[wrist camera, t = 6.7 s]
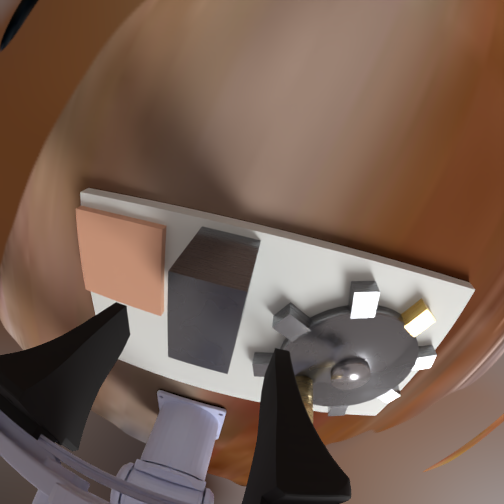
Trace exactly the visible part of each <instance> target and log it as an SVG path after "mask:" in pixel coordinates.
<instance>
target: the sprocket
mask: <svg viewBox="0 0 504 504" xmlns="http://www.w3.org/2000/svg"><path fill="white" fill-rule="evenodd" d="M379 294H380V291H379V288H378V286H377V283H376V281H351V287H350V295H349V302H348V305H346V306H340V307H336V308H333V309H329V310H326V311H324V312H321V313H318V314H316V315H314V316H312V317H309V316H307V315H306V314H305V313H303V312H302V311H301V310H300V309H298V308H297V307H296V306H295V305H293V304H292V303H291V302H290V303H289V304H287V305H286V306H285V307H284V308H282V309H281V310H280V311H278V312H277V313H276V314H275V315H273V323H272V328H273V329H275V330H276V331H278V332H279V333H280V334H282V335H283V336H285V337H286V338H285V340H284V341H283V343H282V345H281V347H280V349H283V350H287V351H289V352H290V356H291V361H292V366H293V370H294V374H295V378H296V382H297V385H298V388H299V391H300V394H301V397H302V400H303V403H304V405H305V408H306V410H307V413H308V415H309V417H310V420H311V422H312V424H313V404H314V405H319V406H327V407H328V416H340V415H345V413H346V410H347V407H348V406H350V405H356V404H360V403H364V402H367V401H370V400H373V399H375V398H378V399H380V400H381V401H383V402H384V403H386V404H387V403H389V402H391V401H393V400H394V399H396V398H398V397H400V396H401V394H400V390H399V386H398V385H399V384H400V383H401V382H402V381H403V380H404V379H405V378H406V377H407V376H408V375H409V373H410V372H411V371H414V370H421V369H427V368H431V366H432V364H433V362H434V360H435V358H436V356H437V354H436V352H435V349H434V347H433V345H427V346H418V341H417V339H416V336H417V335H418V334H419V333H421V332H422V331H423V330H425V329H426V328H427V327H429V326H430V325H431V324H433V323H434V322H435V321H436V320H435V318H434V316H433V314H432V312H431V310H430V309H429V307H428V306H427V305H426V303H425V302H424V301H423V299H422V298H421V299H420V300H419V301H418V302H416V303H415V304H414V305H413V306H411V307H410V308H409V309H407V310H406V311H405V312H403V313H402V314H400V313H398V312H396V311H395V310H392V309H390V308H387V307H383V306H380V305H377V304H378V299H379ZM272 355H273V353H265V352H254V357H253V362H252V366H253V373H254V376H255V377H264V376H265V372H266V370H267V367H268V365H269V362H270V360H271V358H272Z"/></svg>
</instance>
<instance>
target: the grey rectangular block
mask: <svg viewBox="0 0 504 504" xmlns="http://www.w3.org/2000/svg"><path fill="white" fill-rule="evenodd" d="M260 243H261V240H257V239H253V238H249V237H245V236H241V235H237V234H232V233H228V232H224V231H220V230H216V229H211V228H207V227H203V226H202V227H201V228H200V230H199V231H198V232H197V234H196V235H195V236H194V237H193V239H192V240H191V241H190V243H189V244H188V245H187V247H186V248H185V249H184V251H183V252H182V253H181V255H180V256H179V257H178V259H177V260H176V261H175V263H174V264H173V265H172V267H171V268H170V269H169V271H168V304H167V328H168V357H170V358H173V359H176V360H179V361H182V362H186V363H189V364H192V365H196V366H199V367H202V368H206V369H210V370H213V371H217V372H221V373H225V374H228V371H229V367H230V363H231V359H232V356H233V352H234V348H235V344H236V340H237V337H238V333H239V329H240V325H241V321H242V317H243V313H244V309H245V305H246V301H247V297H248V293H249V288H250V284H251V280H252V276H253V272H254V268H255V264H256V259H257V255H258V251H259V247H260Z"/></svg>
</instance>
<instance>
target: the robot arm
mask: <svg viewBox="0 0 504 504" xmlns="http://www.w3.org/2000/svg"><path fill="white" fill-rule="evenodd" d="M129 337H130V328H129V321H128V313H127V306H126V305H123V304H120V303H117V302H115V303H114V304H112V305H111V306H109V307H108V308H106V309H104V310H103V311H101V312H100V313H98V314H97V315H95V316H94V317H92V318H91V319H89V320H88V321H86V322H84V323H83V324H81V325H80V326H78V327H76V328H75V329H73V330H71V331H69V332H68V333H66V334H64V335H62V336H60V337H58V338H56V339H54V340H51V341H49V342H47V343H44V344H42V345H39V346H36V347H33V348H30V349H27V350H24V351H20V352H15V353H10V354H5V355H0V455H1V456H2V457H3V458H4V459H5V460H6V461H7V462H8V463H9V464H10V465H11V466H12V467H13V468H14V469H15V470H16V471H17V472H19V473H20V474H21V475H22V476H23V477H24V478H25V479H27V480H28V481H29V482H30V483H31V484H32V485H34V486H35V487H36V488H37V489H38V491H37V493H36V496H35V498H34V500H33V502H32V504H213V503H214V494H213V493H212V492H211V490H210V489H209V488H205V485H206V482H205V481H204V480H205V476H206V473H207V469H208V465H209V461H210V457H211V454H212V450H213V446H214V442H215V439H218V438H219V435H220V431H221V428H222V425H223V421H224V418H225V415H226V410H225V409H223V408H219V407H215V406H211V405H208V404H204V403H200V402H197V401H194V400H190V399H187V398H184V397H180V396H177V395H174V394H171V393H168V392H165V391H162V390H158V392H157V397H158V403H159V410H160V412H159V414H158V417H157V419H156V422H155V424H154V427H153V429H152V431H151V434H150V436H149V439H148V441H147V444H146V446H145V449H144V451H143V454H142V457H141V459H140V460H139V459H137V460H136V462H135V464H133V463H128V464H126V465H123V466H122V468H121V469H120V470H119V472H118V474H117V476H116V477H115V476H113V475H111V474H109V473H107V472H104V471H102V470H100V469H98V468H97V467H95V466H93V465H91V464H89V463H87V462H85V461H83V460H81V459H80V458H78V457H76V456H75V455H73V454H71V453H70V452H68V451H66V450H65V449H63V448H62V447H60V446H58V445H57V444H55V442H56V443H58V444H59V445H63V446H65V447H66V448H68V449H69V450H71V451H76V450H78V449H79V445H80V441H81V437H82V433H83V430H84V427H85V423H86V420H87V418H88V415H89V412H90V410H91V407H92V405H93V402H94V400H95V398H96V396H97V393H98V391H99V389H100V387H101V385H102V384H103V382H104V380H105V379H106V377H107V375H108V374H109V372H110V371H111V369H112V367H113V366H114V364H115V363H116V361H117V360H118V358H119V356H120V355H121V353H122V351H123V349H124V347H125V345H126V343H127V341H128V339H129ZM60 461H62V462H63V463H65V464H67V465H68V466H70V467H72V468H73V469H75V470H77V471H79V472H80V473H82V474H84V475H85V476H87V477H89V478H91V479H93V480H95V481H97V482H99V483H101V484H103V485H105V486H107V487H109V488H111V489H112V490H111V500H110V502H108V501H105V500H103V499H101V498H99V497H97V496H95V495H93V494H91V493H90V492H88V488H89V486H90V484H89V483H88V482H87V481H85V480H83V479H82V478H80V477H79V476H77V475H76V474H74V473H73V472H71V471H70V470H68V469H66V468H65V467H63V466H62V465H61V462H60ZM350 498H351V486H350V480H349V478H348V476H347V475H346V474H345V473H344V472H343V471H342V469H341V468H340V467H339V466H338V464H337V463H336V462H335V461H334V459H333V458H332V456H331V455H330V453H329V452H328V450H327V449H326V447H325V445H324V444H323V442H322V441H321V439H320V437H319V435H318V434H317V432H316V430H315V428H314V426H313V424H312V422H311V420H310V417H309V415H308V413H307V410H306V408H305V405H304V403H303V400H302V397H301V394H300V391H299V388H298V385H297V382H296V378H295V374H294V370H293V366H292V361H291V356H290V352H289V351H287V350H283V349H278V348H275V350H274V353H273V355H272V358H271V360H270V362H269V365H268V367H267V370H266V372H265V376H264V381H263V386H262V391H261V401H260V413H259V426H258V436H257V442H256V447H255V452H254V457H253V461H252V466H251V470H250V474H249V479H248V483H247V487H246V491H245V494H244V498H243V501H242V504H340V503H343V502H346V501H348V500H349V499H350Z"/></svg>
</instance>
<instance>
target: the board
mask: <svg viewBox="0 0 504 504" xmlns="http://www.w3.org/2000/svg"><path fill="white" fill-rule="evenodd" d="M80 198H81V206H79V207H77V208H76V220H77V231H78V241H79V249H80V257H81V264H82V270H83V276H84V282H85V287H86V290H89V291H91V295H92V300H93V305H94V310H95V314H96V315H97V314H98V313H100V312H101V311H103V310H104V309H106V308H108V307H109V306H111V305H112V304H114V303H115V302H117V303H120V304H123V305H126V306H127V313H128V321H129V328H130V337H129V339H128V341H127V343H126V345H125V347H124V349H123V351H122V353H121V355H120V356H119V358H118V359H119V360H122V361H124V362H127V363H129V364H132V365H134V366H137V367H139V368H142V369H145V370H147V371H150V372H153V373H156V374H159V375H161V376H164V377H167V378H170V379H173V380H176V381H180V382H183V383H186V384H189V385H193V386H196V387H200V388H203V389H207V390H210V391H214V392H218V393H222V394H226V395H230V396H234V397H238V398H243V399H247V400H252V401H257V402H260V401H261V391H262V386H263V381H264V377H255V376H254V373H253V366H252V362H253V357H254V352H265V353H274V350H275V348H278V349H280V347H281V345H282V343H283V341H284V340H285V338H286V337H285V336H283V335H282V334H280V333H279V332H278V331H276V330H275V329H273V328H272V323H273V315H275V314H276V313H277V312H278V311H280V310H281V309H282V308H284V307H285V306H286V305H287V304H289V303H290V302H291V303H292V304H293V305H295V306H296V307H297V308H298V309H300V310H301V311H302V312H303V313H305V314H306V315H307V316H309V317H312V316H314V315H316V314H318V313H321V312H324V311H326V310H329V309H333V308H336V307H340V306H346V305H348V302H349V295H350V287H351V281H376V283H377V286H378V288H379V291H380V294H379V299H378V304H377V305H380V306H383V307H387V308H390V309H392V310H395V311H396V312H398V313H400V314H402V313H403V312H405V311H406V310H407V309H409V308H410V307H411V306H413V305H414V304H415V303H416V302H418V301H419V300H420V299H421V298H422V299H423V301H424V302H425V303H426V305H427V306H428V307H429V309H430V310H431V312H432V314H433V316H434V318H435V320H436V321H435V322H434V323H433V324H431V325H430V326H429V327H427V328H426V329H425V330H423V331H422V332H421V333H419V334H418V335H417V336H416V339H417V341H418V346H427V345H433V347H434V349H436V348H437V347H438V345H439V344H440V343H441V341H442V340H443V338H444V337H445V336H446V334H447V333H448V331H449V330H450V329H451V327H452V326H453V324H454V323H455V321H456V320H457V318H458V317H459V315H460V314H461V312H462V311H463V309H464V307H465V306H466V304H467V303H468V301H469V299H470V298H471V296H472V294H473V293H474V291H475V289H474V288H473V286H472V285H471V284H470V282H467V281H463V280H460V279H457V278H454V277H450V276H447V275H444V274H441V273H437V272H434V271H431V270H427V269H424V268H420V267H417V266H414V265H410V264H407V263H403V262H400V261H396V260H393V259H389V258H386V257H382V256H378V255H375V254H371V253H368V252H364V251H360V250H357V249H353V248H349V247H345V246H342V245H338V244H334V243H330V242H327V241H323V240H319V239H315V238H311V237H307V236H303V235H299V234H295V233H291V232H287V231H283V230H279V229H275V228H271V227H267V226H263V225H259V224H255V223H251V222H246V221H242V220H238V219H234V218H229V217H225V216H221V215H216V214H212V213H208V212H203V211H199V210H194V209H190V208H185V207H181V206H176V205H171V204H167V203H162V202H157V201H152V200H148V199H143V198H138V197H133V196H128V195H123V194H118V193H113V192H108V191H103V190H97V189H92V188H87V189H85V190H83V191H81V192H80ZM202 226H203V227H207V228H211V229H216V230H220V231H224V232H228V233H232V234H237V235H241V236H245V237H249V238H253V239H257V240H261V243H260V247H259V251H258V255H257V259H256V264H255V268H254V272H253V276H252V280H251V284H250V288H249V293H248V297H247V301H246V305H245V309H244V313H243V317H242V321H241V325H240V329H239V333H238V337H237V340H236V344H235V348H234V352H233V356H232V359H231V363H230V367H229V371H228V374H225V373H221V372H217V371H213V370H210V369H206V368H202V367H199V366H196V365H192V364H189V363H186V362H182V361H179V360H176V359H173V358H170V357H168V328H167V304H168V271H169V269H170V268H171V267H172V265H173V264H174V263H175V261H176V260H177V259H178V257H179V256H180V255H181V253H182V252H183V251H184V249H185V248H186V247H187V245H188V244H189V243H190V241H191V240H192V239H193V237H194V236H195V235H196V234H197V232H198V231H199V230H200V228H201V227H202ZM417 371H418V370H414V371H411V372H410V373H409V375H408V376H407V377H406V378H405V379H404V380H403V381H402V382H401V383H400V384H399V385H398V386H399V390H401V389H402V388H403V387H404V386H405V385H406V384H407V383H408V382H409V381H410V379H411V378H412V377H413V376H414V375H415V374H416V373H417ZM387 404H388V403H387ZM387 404H386V403H384V402H383V401H381V400H380V399H378V398H375V399H373V400H370V401H367V402H364V403H360V404H356V405H350V406H348V407H347V410H346V413H345V414H354V415H374V416H376V415H377V414H378V413H379V412H380V411H381V410H382V409H383V408H384V407H385V406H386V405H387ZM313 411H320V412H328V407H327V406H319V405H314V404H313Z"/></svg>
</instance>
